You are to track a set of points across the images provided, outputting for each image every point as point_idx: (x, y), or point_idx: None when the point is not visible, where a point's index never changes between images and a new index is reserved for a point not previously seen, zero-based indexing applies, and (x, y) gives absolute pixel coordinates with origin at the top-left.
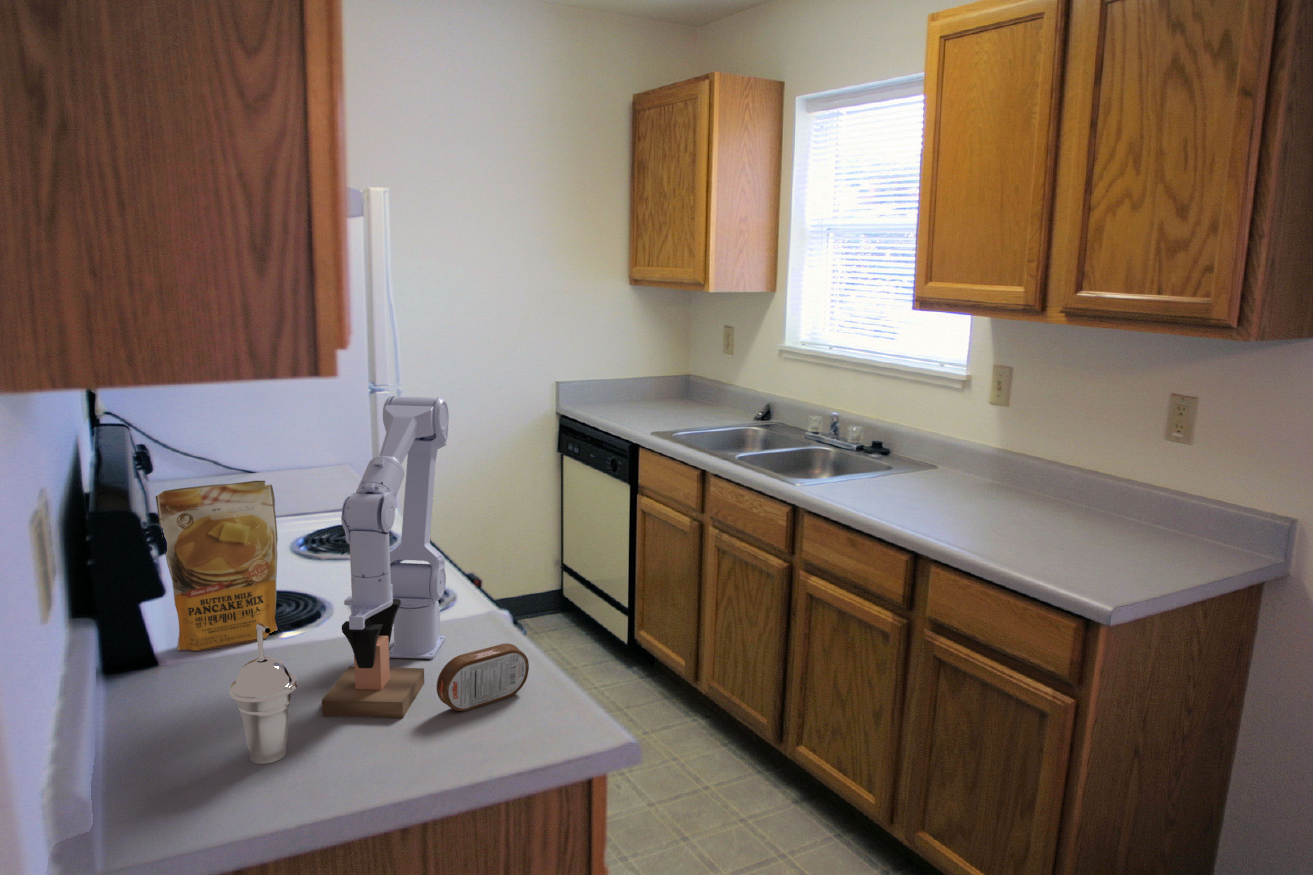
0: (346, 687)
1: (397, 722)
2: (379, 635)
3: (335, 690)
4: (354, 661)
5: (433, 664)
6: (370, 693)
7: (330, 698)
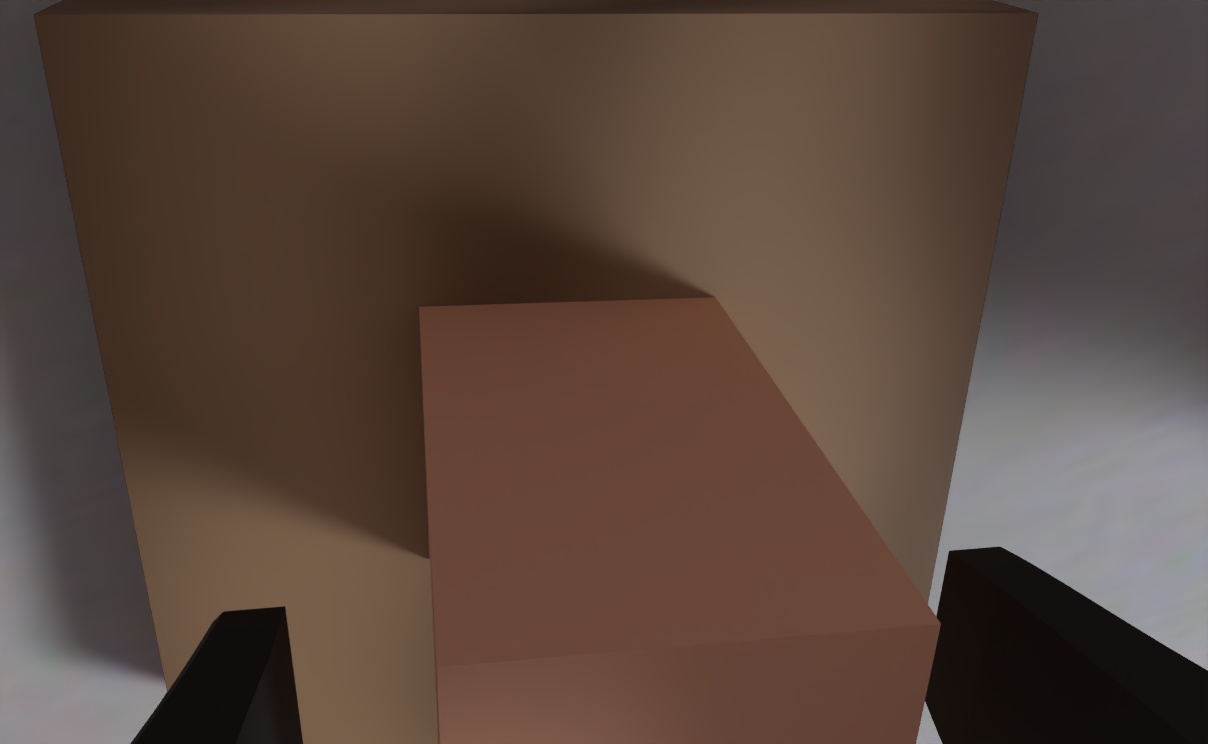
0: (445, 193)
1: (131, 683)
2: (1032, 736)
3: (344, 92)
4: (429, 483)
5: (1189, 582)
6: (326, 494)
7: (103, 116)
